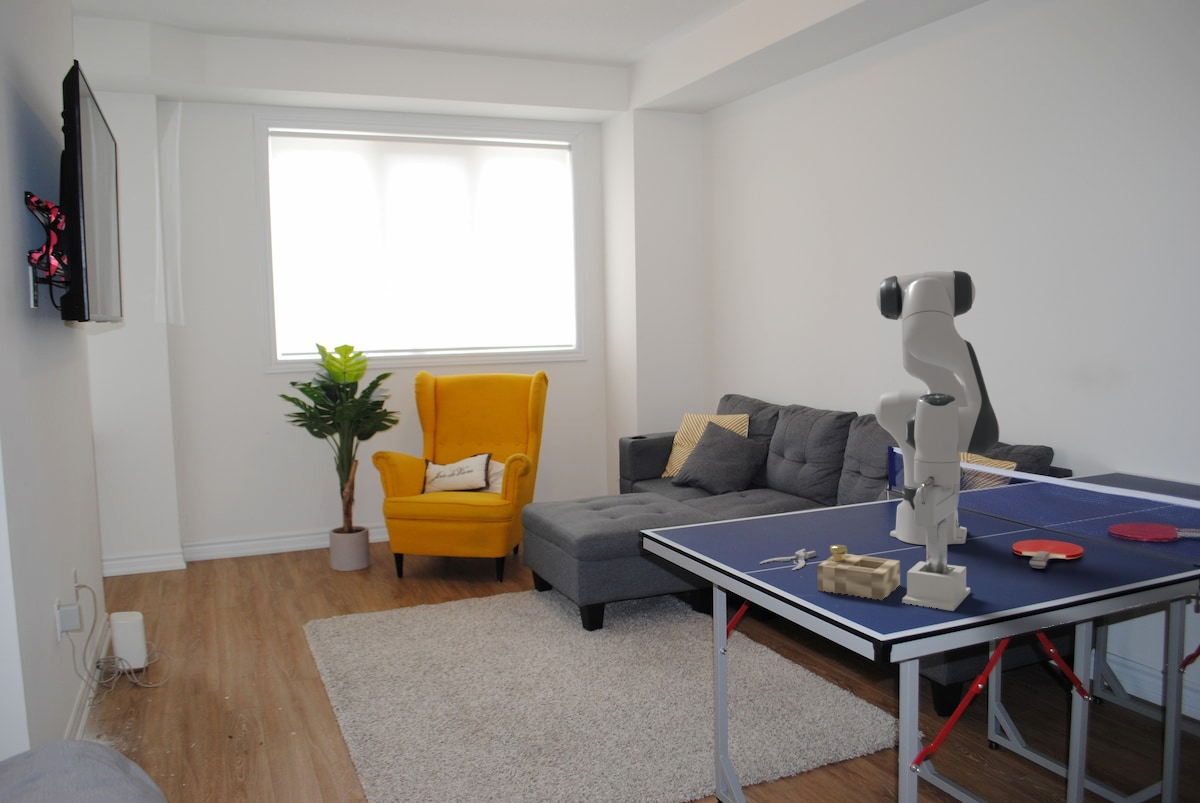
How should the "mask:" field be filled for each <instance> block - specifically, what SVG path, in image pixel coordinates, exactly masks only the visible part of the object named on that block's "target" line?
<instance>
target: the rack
mask: <svg viewBox="0 0 1200 803" xmlns="http://www.w3.org/2000/svg"><path fill="white" fill-rule="evenodd" d="M970 594H971V587H967V566H961V565H955V564H954V565H953V564H947V575H944V574H936V573H929V572H926V561H921V560H920V561H918V562H917V563H916V564H915V565H914V566H912V567H910V569H909V570H908V571H906V595H904V596H903V597H902V599H901V604H903V603H905V605H910V604H912V605H911V606H916V605H918V607H923V606H924V608H929V607H930V608H929V609H936V608H938V609H937V610H944V611H949V612H950V611H951V612H954V611H955V610H956V609H957V608H958V607H959V605H960V604H962V602H963V601H964V600H965V599H966V598H967V596H969V595H970ZM931 607H932V608H931Z"/></svg>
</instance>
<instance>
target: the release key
mask: <svg viewBox="0 0 1200 803" xmlns="http://www.w3.org/2000/svg"><path fill="white" fill-rule="evenodd" d="M829 552H830V553H831V554H832V556H833V561H834V562H844V561H845V554H848V546H847V545H843V544H832V545H830V547H829Z"/></svg>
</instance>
